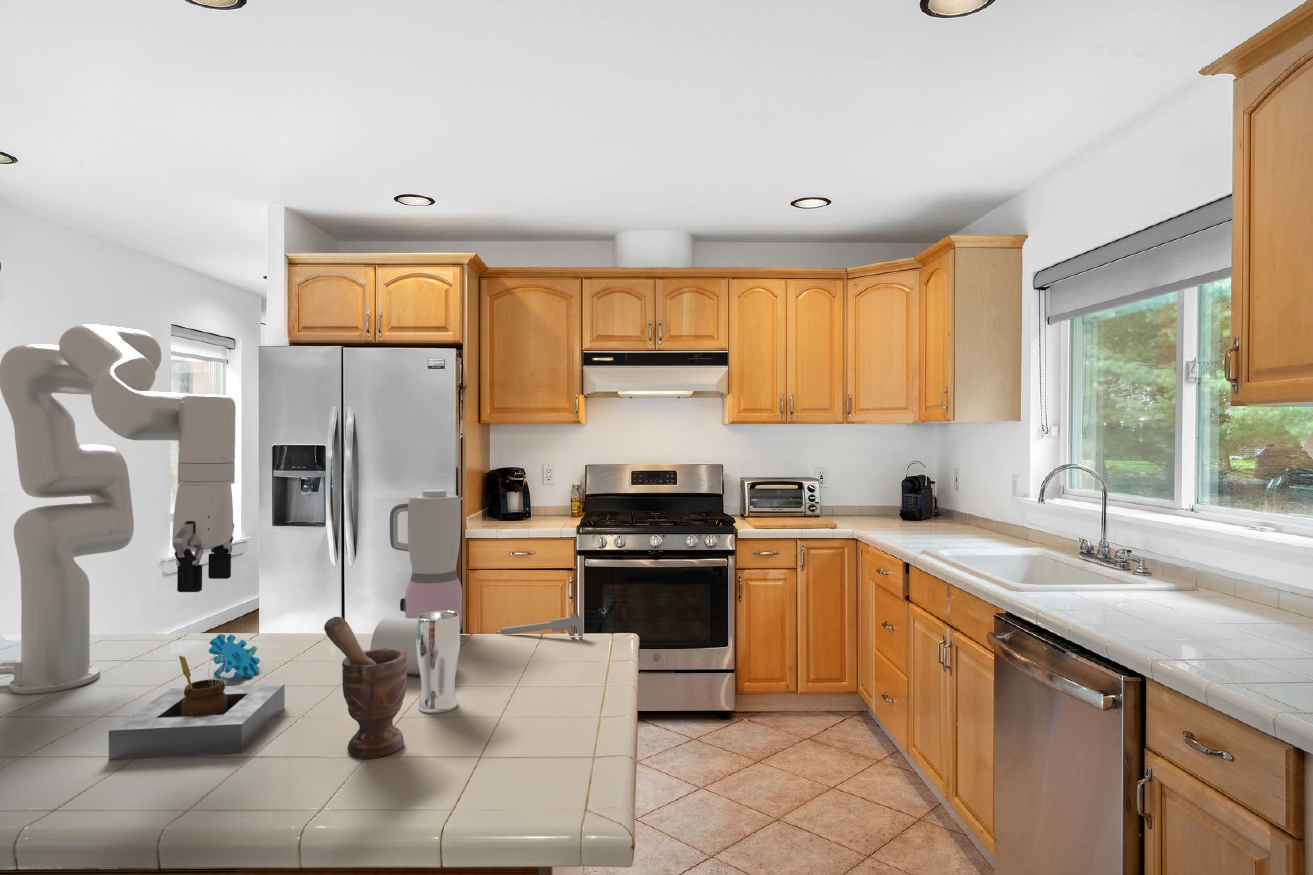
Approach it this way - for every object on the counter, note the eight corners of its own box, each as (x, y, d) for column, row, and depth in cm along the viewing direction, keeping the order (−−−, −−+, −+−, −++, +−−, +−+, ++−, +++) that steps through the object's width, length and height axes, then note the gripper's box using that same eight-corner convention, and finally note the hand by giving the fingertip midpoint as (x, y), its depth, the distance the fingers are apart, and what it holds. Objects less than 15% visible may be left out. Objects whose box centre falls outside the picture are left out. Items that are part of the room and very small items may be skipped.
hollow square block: (108, 759, 102) (108, 730, 102) (171, 713, 119) (171, 688, 119) (241, 752, 104) (241, 723, 104) (284, 708, 121) (284, 683, 121)
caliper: (583, 640, 163) (583, 611, 163) (581, 641, 162) (581, 612, 162) (497, 633, 168) (497, 605, 168) (495, 635, 167) (495, 607, 167)
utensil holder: (235, 728, 113) (236, 649, 113) (191, 742, 107) (191, 659, 107) (214, 720, 116) (215, 643, 116) (170, 734, 111) (171, 652, 111)
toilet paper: (370, 680, 135) (370, 625, 135) (395, 663, 145) (395, 612, 145) (423, 682, 134) (423, 626, 134) (445, 665, 144) (445, 613, 144)
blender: (464, 625, 174) (464, 488, 174) (461, 639, 162) (462, 492, 162) (393, 628, 171) (393, 489, 171) (385, 643, 159) (385, 493, 159)
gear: (235, 677, 131) (203, 634, 133) (211, 701, 131) (179, 657, 133) (275, 667, 142) (245, 627, 144) (253, 688, 142) (223, 649, 144)
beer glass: (468, 703, 124) (469, 612, 124) (440, 717, 117) (440, 622, 117) (436, 696, 127) (436, 608, 127) (406, 710, 120) (406, 617, 120)
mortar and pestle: (372, 774, 98) (373, 622, 98) (314, 768, 99) (314, 618, 99) (418, 739, 109) (418, 602, 109) (364, 734, 111) (365, 599, 111)
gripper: (207, 470, 123) (205, 573, 124) (150, 477, 106) (148, 597, 107) (255, 471, 124) (253, 573, 125) (206, 478, 107) (204, 597, 107)
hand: (205, 584), depth 116 cm, fingers open, 9 cm apart
